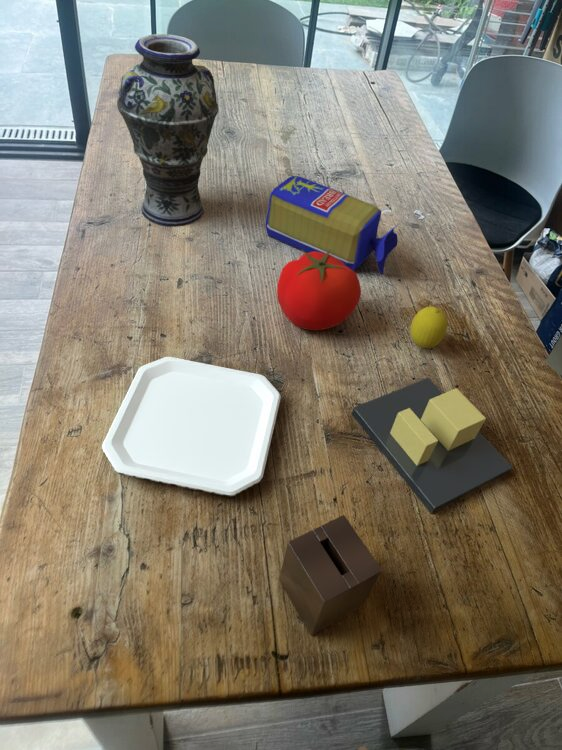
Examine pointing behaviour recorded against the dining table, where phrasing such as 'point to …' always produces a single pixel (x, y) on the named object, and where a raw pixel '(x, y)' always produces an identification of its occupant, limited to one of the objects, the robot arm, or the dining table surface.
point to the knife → (556, 357)
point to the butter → (452, 419)
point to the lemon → (428, 327)
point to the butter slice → (413, 436)
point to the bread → (327, 222)
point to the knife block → (328, 574)
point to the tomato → (317, 291)
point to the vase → (169, 125)
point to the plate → (194, 426)
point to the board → (444, 468)
